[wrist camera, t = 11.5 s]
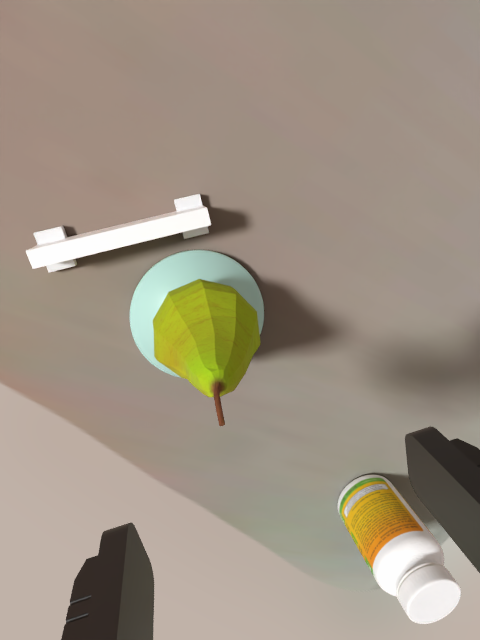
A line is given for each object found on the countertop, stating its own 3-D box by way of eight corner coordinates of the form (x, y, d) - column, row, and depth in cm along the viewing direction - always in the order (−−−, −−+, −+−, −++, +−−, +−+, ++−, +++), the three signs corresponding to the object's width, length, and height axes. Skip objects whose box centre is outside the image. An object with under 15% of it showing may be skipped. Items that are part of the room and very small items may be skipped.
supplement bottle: (323, 508, 35) (381, 620, 26) (362, 462, 34) (435, 561, 25) (365, 530, 37) (433, 641, 28) (403, 486, 36) (485, 586, 27)
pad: (247, 234, 26) (249, 235, 26) (272, 355, 30) (274, 358, 29) (111, 268, 25) (110, 270, 25) (152, 390, 29) (152, 394, 28)
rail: (198, 193, 25) (203, 194, 22) (208, 231, 26) (214, 237, 23) (36, 232, 24) (20, 238, 21) (51, 270, 25) (37, 281, 22)
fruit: (242, 263, 26) (304, 319, 15) (251, 350, 28) (312, 455, 17) (143, 277, 25) (133, 349, 14) (160, 366, 28) (162, 488, 16)
